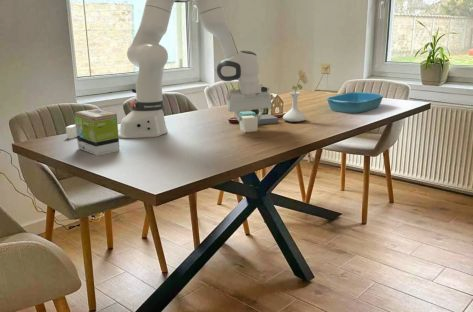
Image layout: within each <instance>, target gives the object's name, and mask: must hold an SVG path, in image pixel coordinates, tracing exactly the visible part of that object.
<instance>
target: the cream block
mask: <svg viewBox="0 0 473 312" xmlns="http://www.w3.org/2000/svg"><path fill="white" fill-rule="evenodd" d="M241 117H242V121H240V125H239V130H240V131H241V132H244V133H250V132H252V133H253V132H258V118H257V117H254V116H241Z"/></svg>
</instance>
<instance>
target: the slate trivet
mask: <svg viewBox="0 0 473 312" xmlns="http://www.w3.org/2000/svg"><path fill="white" fill-rule="evenodd" d="M257 115H258V114H256V117H257ZM278 123H279V117H277V116H274V115H272V114H269V113H268V114H262V115H261V119H258V125H270V124H278Z"/></svg>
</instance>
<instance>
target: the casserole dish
mask: <svg viewBox="0 0 473 312" xmlns="http://www.w3.org/2000/svg"><path fill="white" fill-rule="evenodd" d="M383 98H384V95H383V94H380V93H375V92H367V91H366V92H365V91H353V92H345V93H340V94H336V95H332V96H329V97H327V98H326V100H327V103H328V106H329V108H330V110H331V111H333V110H335V111H334V112H338V111H342V112H341V113H346V112H350V113H349V114H359V113H358V112H361V113H364V111H365V112H367V110H368V111H371V110H374V109H376V108H378V107H379V106H380V105H381V103H382V101H383ZM373 108H374V109H373ZM370 109H371V110H370Z"/></svg>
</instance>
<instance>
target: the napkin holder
mask: <svg viewBox="0 0 473 312" xmlns="http://www.w3.org/2000/svg"><path fill="white" fill-rule="evenodd" d="M65 131H66V132H65V133H66V139H69V140H70V139H71V140H72V139H75V138H77V133H76V123H74V124H70V125H68V126H66V127H65Z"/></svg>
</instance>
